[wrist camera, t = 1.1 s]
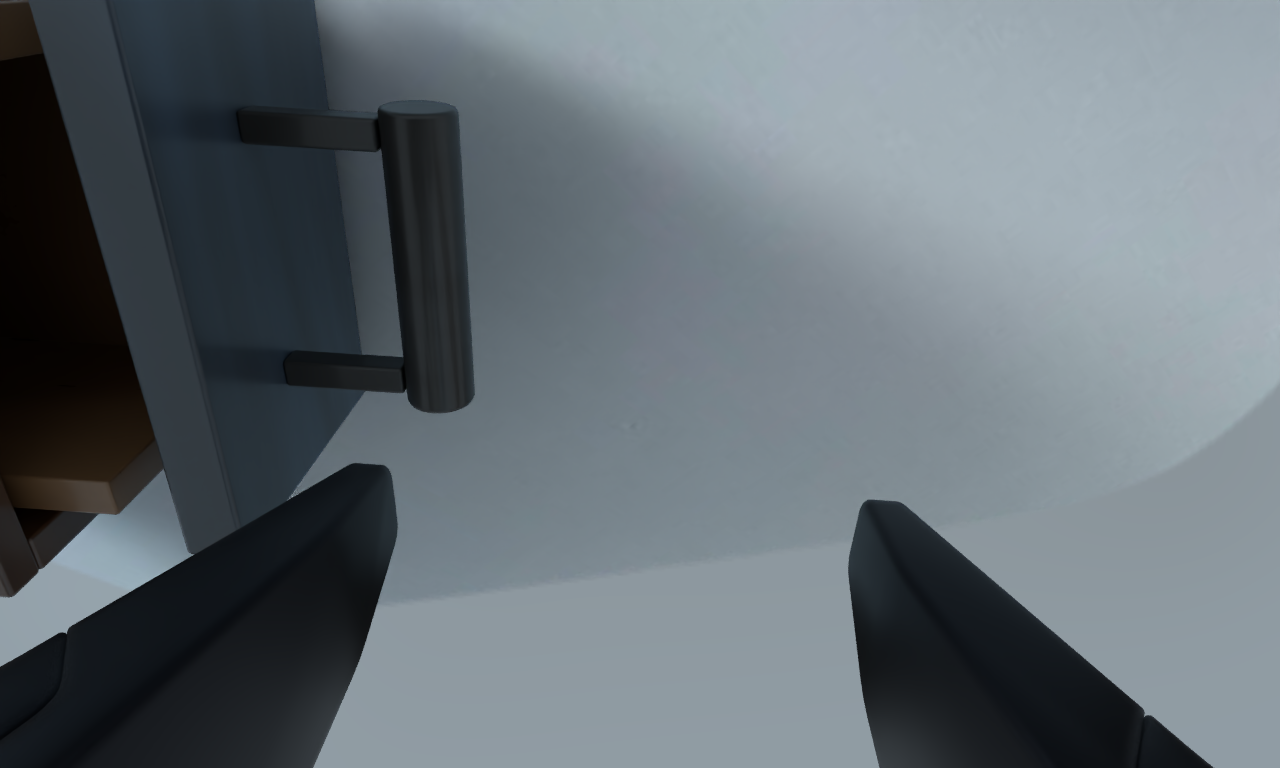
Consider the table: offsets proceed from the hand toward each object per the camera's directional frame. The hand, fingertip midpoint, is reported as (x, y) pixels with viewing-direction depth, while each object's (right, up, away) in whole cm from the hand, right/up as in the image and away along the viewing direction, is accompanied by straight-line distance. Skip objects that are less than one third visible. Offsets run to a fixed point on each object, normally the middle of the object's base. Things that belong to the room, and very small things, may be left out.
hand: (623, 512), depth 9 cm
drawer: (-11, +6, +10) cm, 16 cm away
